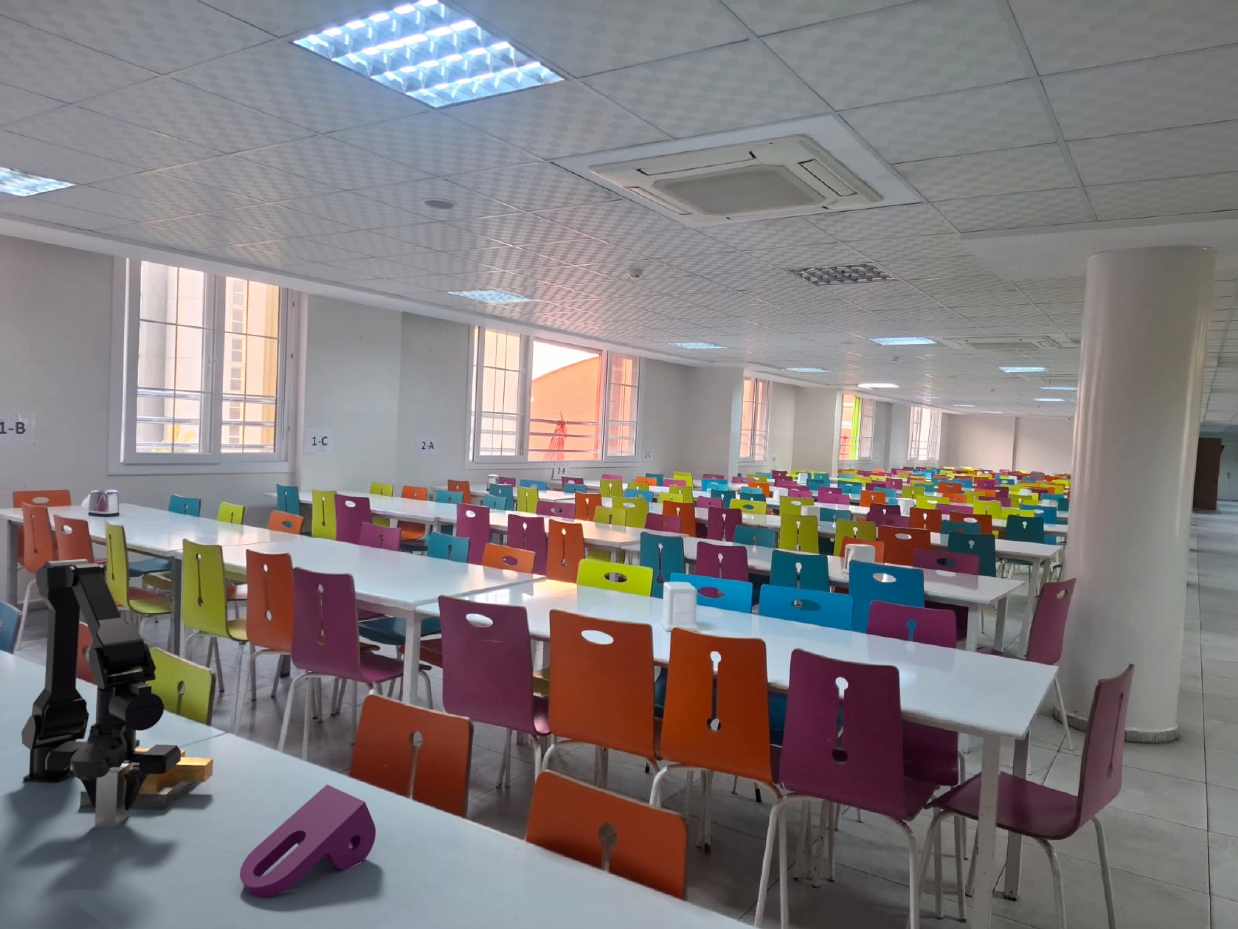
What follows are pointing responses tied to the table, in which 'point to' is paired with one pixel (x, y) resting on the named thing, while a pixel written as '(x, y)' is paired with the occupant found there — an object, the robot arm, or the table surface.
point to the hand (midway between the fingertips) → (112, 809)
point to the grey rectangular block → (111, 797)
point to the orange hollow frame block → (167, 783)
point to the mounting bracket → (311, 842)
